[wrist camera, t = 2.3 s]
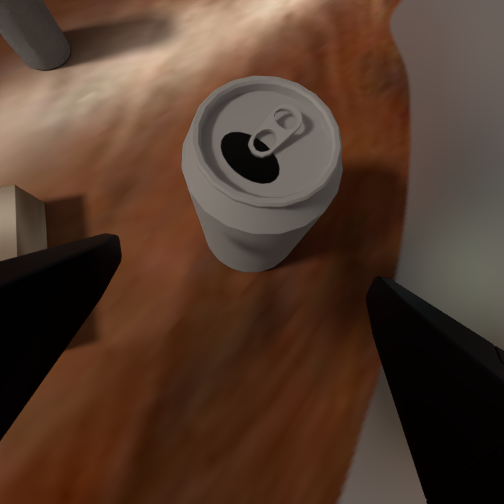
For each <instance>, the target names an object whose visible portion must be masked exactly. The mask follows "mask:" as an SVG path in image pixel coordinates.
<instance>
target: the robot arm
mask: <svg viewBox="0 0 504 504" xmlns="http://www.w3.org/2000/svg"><path fill="white" fill-rule="evenodd" d="M121 258H122V255H121V247H120V240H119V237H118V236H117V235H114V234H107V233H104V234H100V235H96V236H93V237H89V238H85V239H81V240H78V241H74V242H70V243H66V244H62V245H59V246H55V247H51V248H47V249H44V250H40V251H36V252H32V253H29V254H25V255H21V256H17V257H13V258H10V259H6V260H2V261H0V441H1V439H2V438H3V436H4V435H5V434H6V432H7V431H8V429H9V428H10V427H11V425H12V424H13V422H14V421H15V419H16V418H17V417H18V415H19V414H20V412H21V411H22V409H23V408H24V407H25V405H26V404H27V402H28V401H29V400H30V398H31V397H32V395H33V394H34V392H35V391H36V390H37V388H38V387H39V385H40V384H41V383H42V381H43V380H44V378H45V377H46V375H47V374H48V373H49V371H50V370H51V368H52V367H53V365H54V364H55V363H56V361H57V360H58V358H59V357H60V356H61V354H62V353H63V351H64V350H65V348H66V347H67V346H68V344H69V343H70V341H71V340H72V339H73V337H74V336H75V334H76V333H77V331H78V330H79V329H80V327H81V326H82V324H83V323H84V321H85V320H86V319H87V317H88V316H89V314H90V313H91V312H92V310H93V309H94V307H95V306H96V304H97V303H98V302H99V300H100V299H101V297H102V295H103V294H104V292H105V290H106V288H107V286H108V285H109V283H110V281H111V279H112V277H113V275H114V273H115V272H116V270H117V268H118V266H119V264H120V262H121ZM366 304H367V309H368V314H369V318H370V323H371V328H372V333H373V337H374V341H375V344H376V347H377V350H378V354H379V357H380V360H381V363H382V366H383V369H384V372H385V375H386V378H387V381H388V384H389V387H390V390H391V394H392V396H393V400H394V402H395V406H396V409H397V412H398V415H399V418H400V421H401V424H402V427H403V431H404V433H405V437H406V440H407V443H408V446H409V449H410V452H411V455H412V458H413V461H414V464H415V467H416V470H417V474H418V477H419V480H420V483H421V486H422V489H423V492H424V495H425V498H426V499H427V501H426V502H427V504H504V351H503V350H502V349H500V348H498V347H497V346H494V345H493V344H492V343H490V342H489V341H487V340H486V339H484V338H483V337H481V336H480V335H478V334H476V333H475V332H473V331H471V330H470V329H469V328H467V327H465V326H464V325H462V324H461V323H459V322H457V321H456V320H454V319H453V318H451V317H450V316H448V315H446V314H445V313H443V312H442V311H440V310H439V309H437V308H435V307H434V306H432V305H431V304H429V303H427V302H426V301H424V300H423V299H421V298H420V297H418V296H417V295H415V294H413V293H412V292H410V291H409V290H407V289H406V288H404V287H402V286H401V285H399V284H398V283H396V282H395V281H393V280H391V279H390V278H387V277H381V276H377V277H375V278H374V280H373V282H372V284H371V286H370V288H369V290H368V292H367V295H366Z"/></svg>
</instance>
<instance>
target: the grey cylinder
mask: <svg viewBox="0 0 504 504" xmlns="http://www.w3.org/2000/svg"><path fill="white" fill-rule="evenodd" d="M0 34H1V35H2V36H3V38H4V39H5V40H6V41H7V42H8V44H9V45H10V46H11V47H12V48H13V50H14V51H15V52H16V53H17V55H18V56H19V57H20V58H21V59H22V60H23V61H24V62H25V64H27V65H28V66H30V67H32V68H34V69H38V70H49V69H53V68H56V67H59V66H60V65H62V64H63V63H64V62H65V61H66V60H67V59H68V57H69V55H70V45H69V43H68V41H67V39H66V38H65V36H64V34H63V32H62V31H61V29H60V27H59V26H58V24H57V23H56V21H55V19H54V18H53V16H52V14H51V13H50V11H49V9H48V8H47V6H46V4H45V3H44V1H43V0H0Z"/></svg>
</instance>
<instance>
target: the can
mask: <svg viewBox="0 0 504 504" xmlns="http://www.w3.org/2000/svg"><path fill="white" fill-rule="evenodd" d="M341 152H342V144H341V135H340V128H339V126H338V124H337V122H336V120H335V118H334V116H333V114H332V112H331V110H330V109H329V108H328V107H327V106H326V105H325V104H324V103H323V102H322V101H321V100H320V98H319V97H318V96H317V95H316V94H314V93H312V92H311V91H309V90H308V89H306V88H304V87H303V86H301V85H299V84H298V83H295V82H292V81H289V80H285V79H282V78H279V77H271V76H251V77H246V78H242V79H237V80H233V81H231V82H229V83H227V84H225V85H223V86H221V87H220V88H218V89H216V90H214V91H213V92H212V93H211V94H210V95H209V96H208V97H207V98H206V99H205V100H204V101H203V102H202V104H201V105H200V106H199V108H198V110H197V113H196V115H195V117H194V119H193V122H192V124H191V127H190V130H189V132H188V134H187V136H186V139H185V141H184V143H183V151H182V170H183V173H184V177H185V180H186V183H187V186H188V189H189V192H190V195H191V198H192V201H193V203H194V206H195V209H196V212H197V215H198V218H199V220H200V223H201V226H202V229H203V232H204V234H205V237H206V240H207V243H208V246H209V248H210V249H211V251H212V252H213V253H214V255H215V256H216V257H217V259H218V260H220V261H221V262H222V263H224V264H225V265H227V266H228V267H230V268H232V269H236V270H239V271H242V272H261V271H264V270H267V269H270V268H273V267H274V266H276V265H277V264H278V263H280V262H281V261H282V260H284V259H285V258H286V257H287V256H288V254H289V253H290V252H291V251H292V250H293V248H294V247H295V246H296V245H297V244H298V243H299V241H300V240H301V239H302V238H303V237H304V235H305V234H306V233H307V232H308V231H309V230H310V228H311V227H312V226H313V225H314V224H315V222H316V221H317V220H318V219H319V218H320V217H321V215H322V214H323V213H324V212H325V210H326V209H327V207H328V206H329V204H330V203H331V201H332V200H333V199H334V197H335V196H336V194H337V193H338V189H339V185H340V180H341V176H342V172H343V168H342V160H341Z"/></svg>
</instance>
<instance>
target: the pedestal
mask: <svg viewBox="0 0 504 504" xmlns="http://www.w3.org/2000/svg"><path fill="white" fill-rule="evenodd" d="M44 249H47V232H46V215H45V203H44V202H42V201H41V200H39V199H37V198H36V197H34V196H32V195H31V194H29V193H27V192H26V191H24V190H23V189H21V188H19V187H18V186H16V185H11V186H5V187H0V261H2V260H6V259H10V258H13V257H17V256H21V255H25V254H29V253H32V252H36V251H40V250H44Z"/></svg>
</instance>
